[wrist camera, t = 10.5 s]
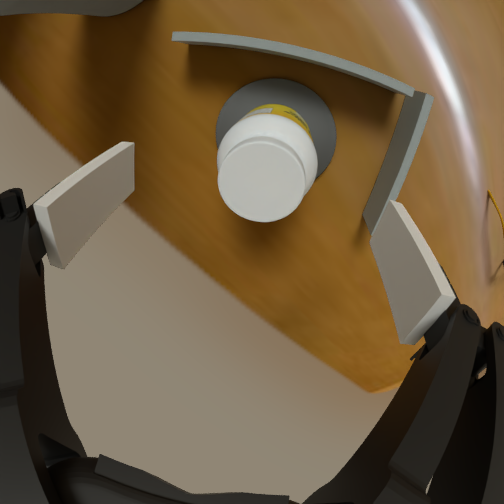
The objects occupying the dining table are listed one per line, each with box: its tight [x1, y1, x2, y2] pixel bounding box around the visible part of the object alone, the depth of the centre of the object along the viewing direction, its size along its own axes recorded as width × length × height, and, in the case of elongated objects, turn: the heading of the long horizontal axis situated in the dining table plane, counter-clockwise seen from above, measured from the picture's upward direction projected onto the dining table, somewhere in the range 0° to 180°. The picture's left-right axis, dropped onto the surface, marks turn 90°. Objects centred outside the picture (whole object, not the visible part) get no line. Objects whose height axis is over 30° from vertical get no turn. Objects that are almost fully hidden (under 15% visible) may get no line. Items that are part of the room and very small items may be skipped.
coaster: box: [216, 78, 336, 179], centre depth 24 cm, size 11×11×1 cm
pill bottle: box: [217, 104, 318, 222], centre depth 19 cm, size 6×6×12 cm
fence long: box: [172, 32, 415, 97], centre depth 17 cm, size 19×1×4 cm, turn 79°
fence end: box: [362, 90, 434, 236], centre depth 21 cm, size 1×14×4 cm, turn 169°
